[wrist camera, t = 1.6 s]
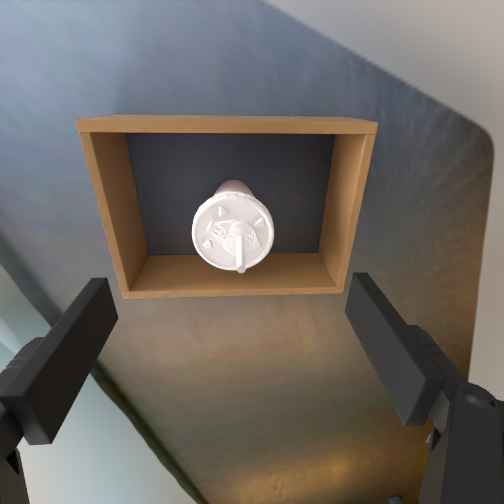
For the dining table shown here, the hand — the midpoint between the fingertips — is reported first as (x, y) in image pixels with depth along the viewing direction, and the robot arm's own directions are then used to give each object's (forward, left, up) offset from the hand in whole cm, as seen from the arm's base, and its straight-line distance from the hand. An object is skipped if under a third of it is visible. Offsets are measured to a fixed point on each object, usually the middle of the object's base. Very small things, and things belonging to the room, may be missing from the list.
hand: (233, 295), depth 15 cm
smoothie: (0, 0, -17) cm, 17 cm away
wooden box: (0, 0, -17) cm, 17 cm away
